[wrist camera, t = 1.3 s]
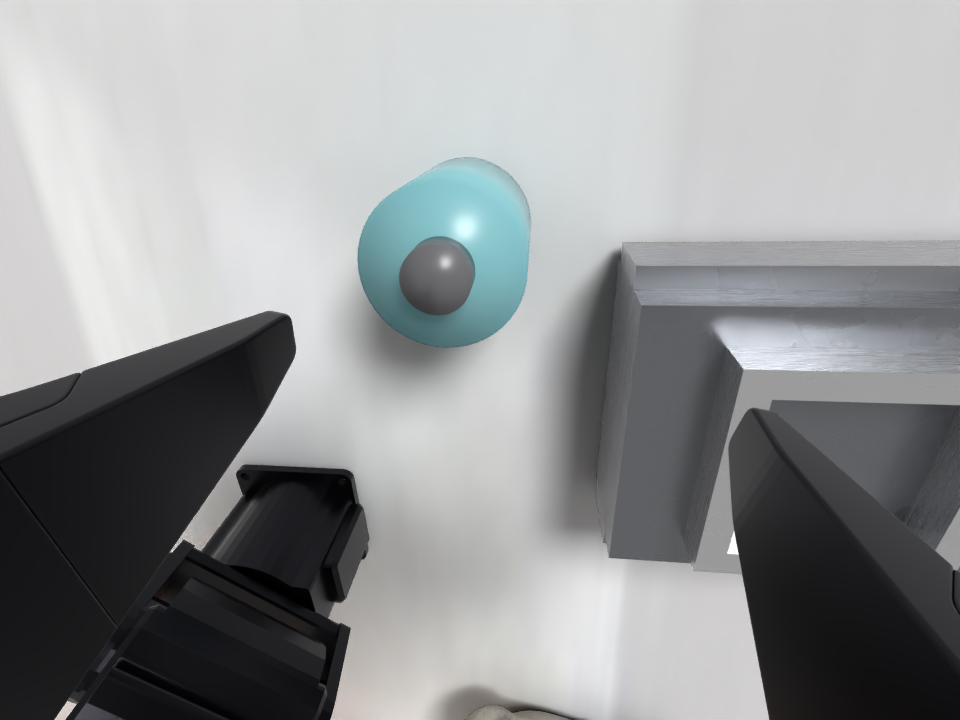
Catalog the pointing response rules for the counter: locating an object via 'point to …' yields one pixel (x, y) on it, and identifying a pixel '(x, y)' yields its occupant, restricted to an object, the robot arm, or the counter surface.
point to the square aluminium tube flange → (778, 383)
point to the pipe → (510, 714)
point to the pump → (448, 253)
